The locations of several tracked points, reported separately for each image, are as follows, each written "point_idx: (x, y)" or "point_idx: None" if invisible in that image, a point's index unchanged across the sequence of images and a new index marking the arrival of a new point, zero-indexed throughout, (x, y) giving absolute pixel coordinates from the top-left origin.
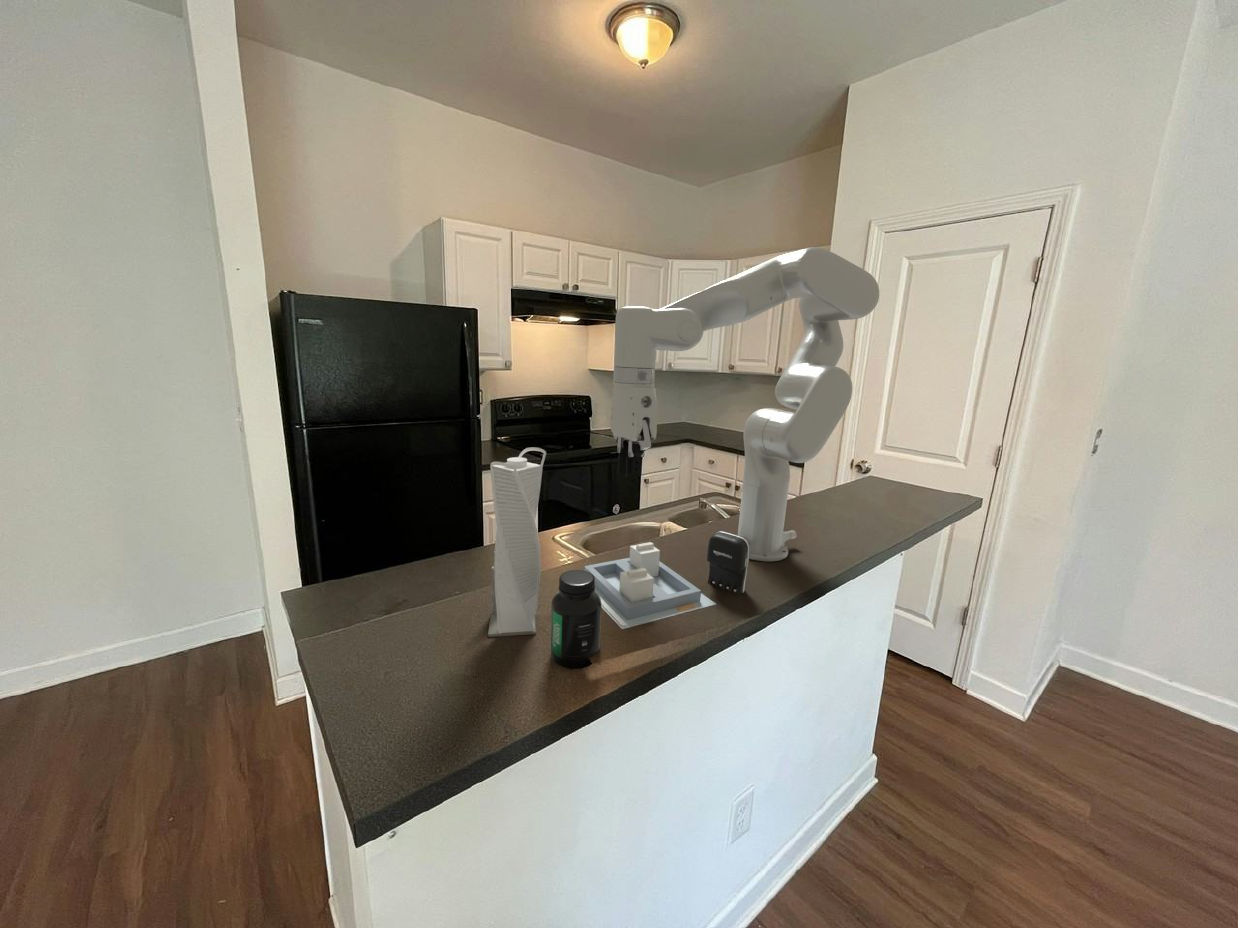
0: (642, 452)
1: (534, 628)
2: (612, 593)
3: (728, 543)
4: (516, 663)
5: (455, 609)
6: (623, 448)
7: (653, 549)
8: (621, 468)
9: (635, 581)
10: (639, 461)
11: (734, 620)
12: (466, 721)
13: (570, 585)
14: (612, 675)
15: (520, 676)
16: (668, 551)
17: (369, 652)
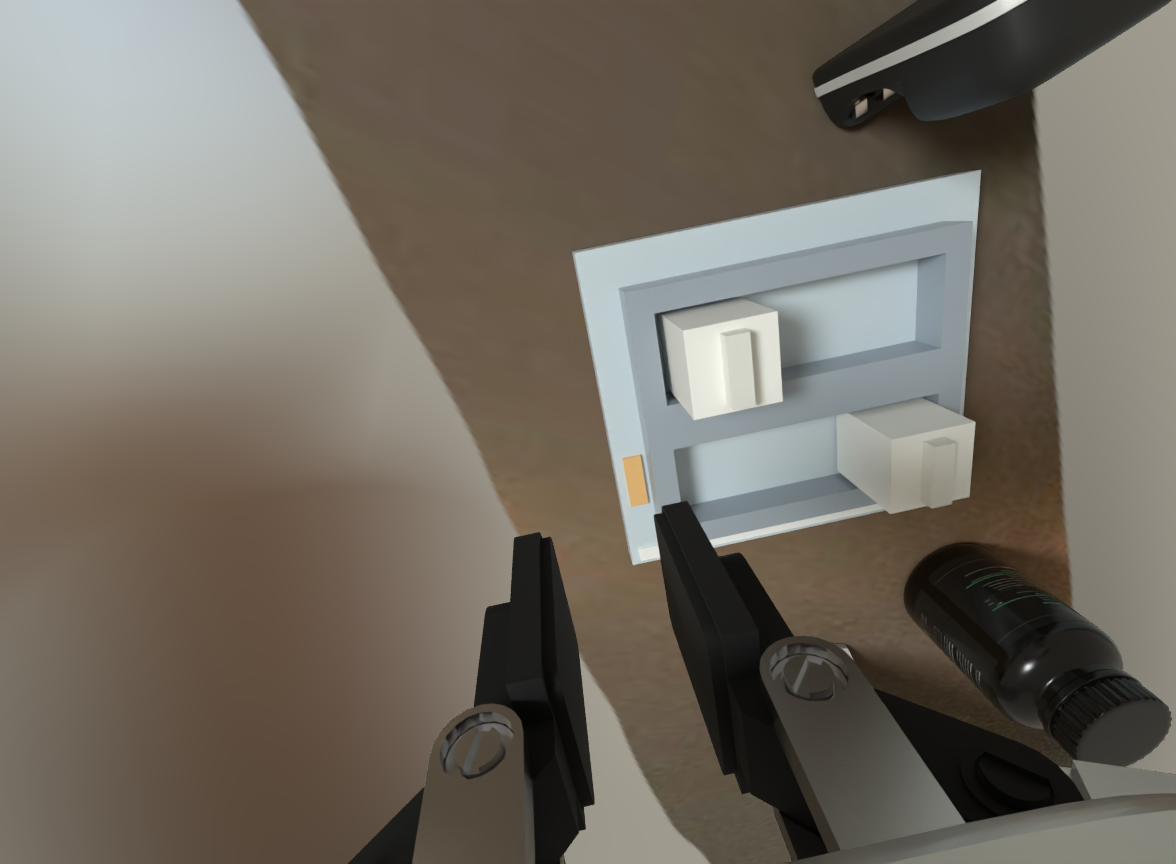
0: (932, 726)
1: (849, 655)
2: (860, 506)
3: (1138, 21)
4: (918, 675)
5: (691, 773)
6: (549, 858)
7: (758, 334)
8: (577, 668)
9: (965, 485)
10: (783, 630)
11: (1023, 133)
12: (1010, 731)
13: (1150, 752)
14: (1038, 530)
15: (955, 670)
16: (443, 110)
17: (787, 857)
